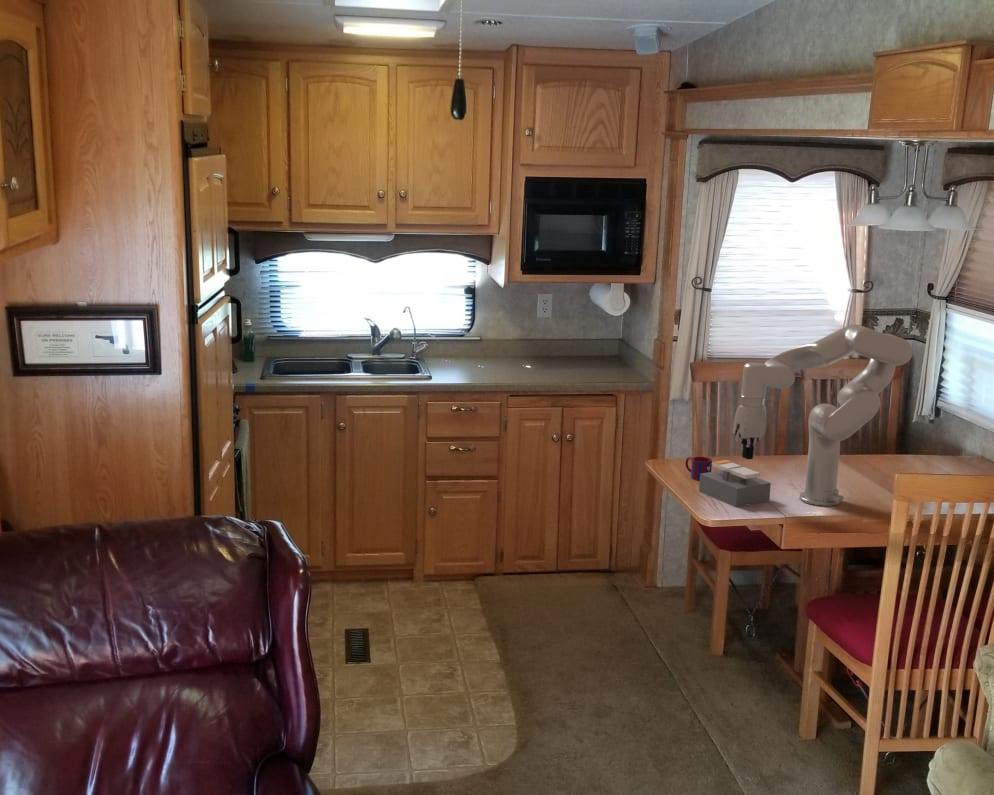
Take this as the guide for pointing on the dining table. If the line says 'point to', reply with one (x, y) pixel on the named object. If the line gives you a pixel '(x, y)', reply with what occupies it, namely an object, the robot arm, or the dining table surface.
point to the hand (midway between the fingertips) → (747, 458)
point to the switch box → (734, 488)
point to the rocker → (735, 469)
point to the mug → (699, 466)
